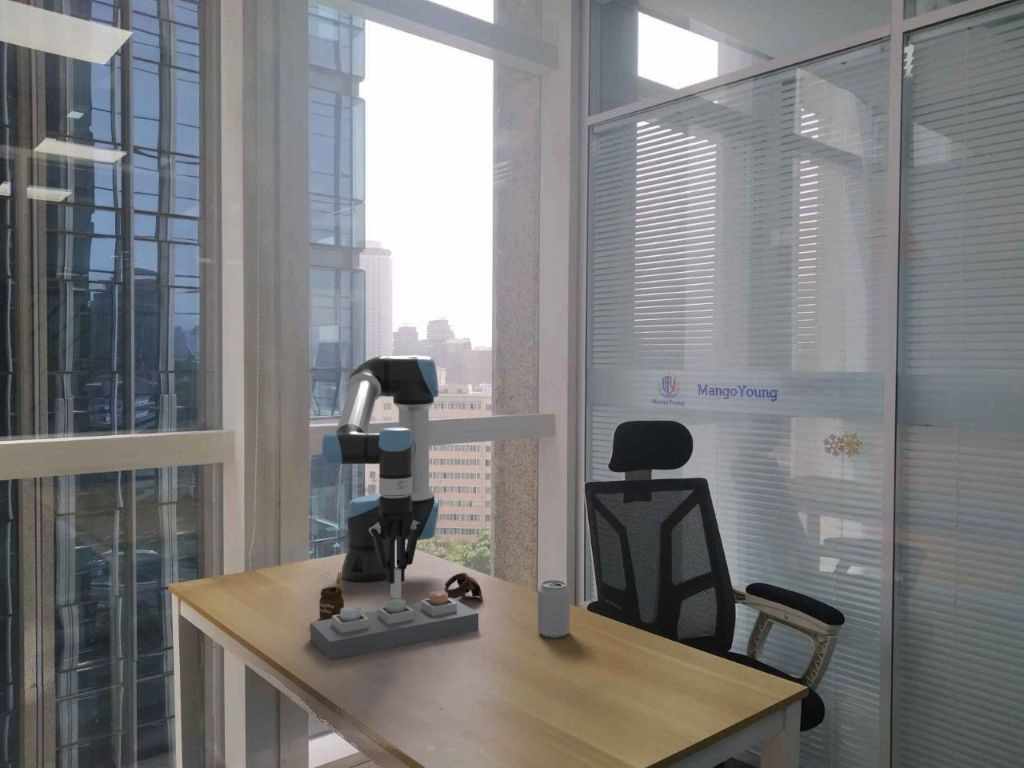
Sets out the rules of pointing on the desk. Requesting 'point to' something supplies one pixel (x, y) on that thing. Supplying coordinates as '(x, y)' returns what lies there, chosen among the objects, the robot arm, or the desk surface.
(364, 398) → the robot arm
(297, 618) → the desk surface
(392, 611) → the sage button
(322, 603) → the utensil holder
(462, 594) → the dark brown curved piece
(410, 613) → the console
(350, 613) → the pale blue button
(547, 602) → the can
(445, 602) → the terracotta button
